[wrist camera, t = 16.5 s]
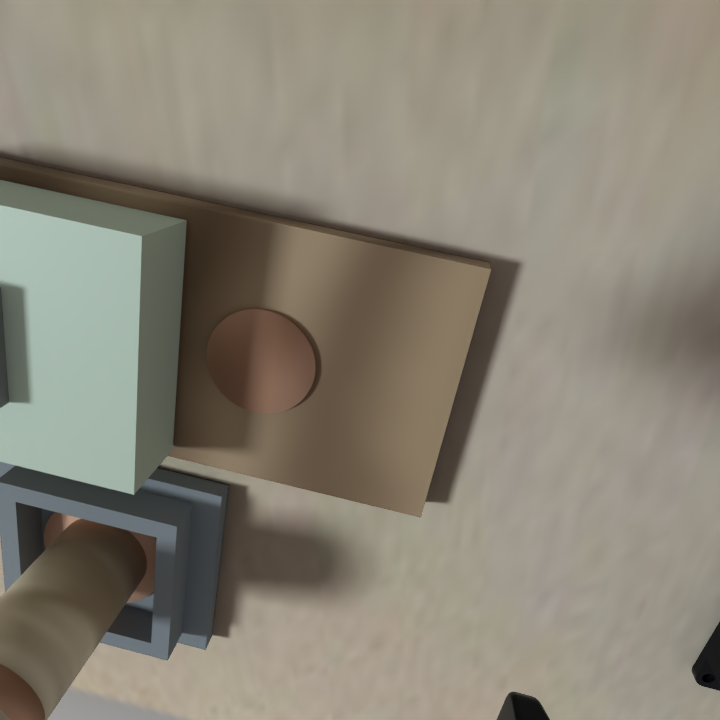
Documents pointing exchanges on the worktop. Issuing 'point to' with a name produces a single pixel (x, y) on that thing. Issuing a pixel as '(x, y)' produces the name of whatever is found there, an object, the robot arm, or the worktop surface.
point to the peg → (63, 614)
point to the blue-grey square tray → (153, 531)
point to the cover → (88, 336)
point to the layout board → (307, 345)
